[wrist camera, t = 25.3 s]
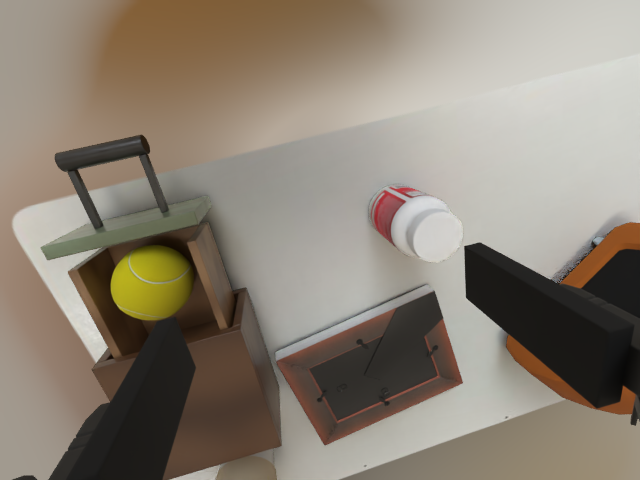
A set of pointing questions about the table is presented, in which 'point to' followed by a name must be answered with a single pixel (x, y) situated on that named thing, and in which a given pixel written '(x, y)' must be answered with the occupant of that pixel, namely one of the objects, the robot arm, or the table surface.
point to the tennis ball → (152, 282)
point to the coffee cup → (249, 468)
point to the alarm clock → (607, 284)
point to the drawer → (130, 233)
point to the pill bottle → (416, 223)
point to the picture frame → (372, 365)
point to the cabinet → (218, 395)
